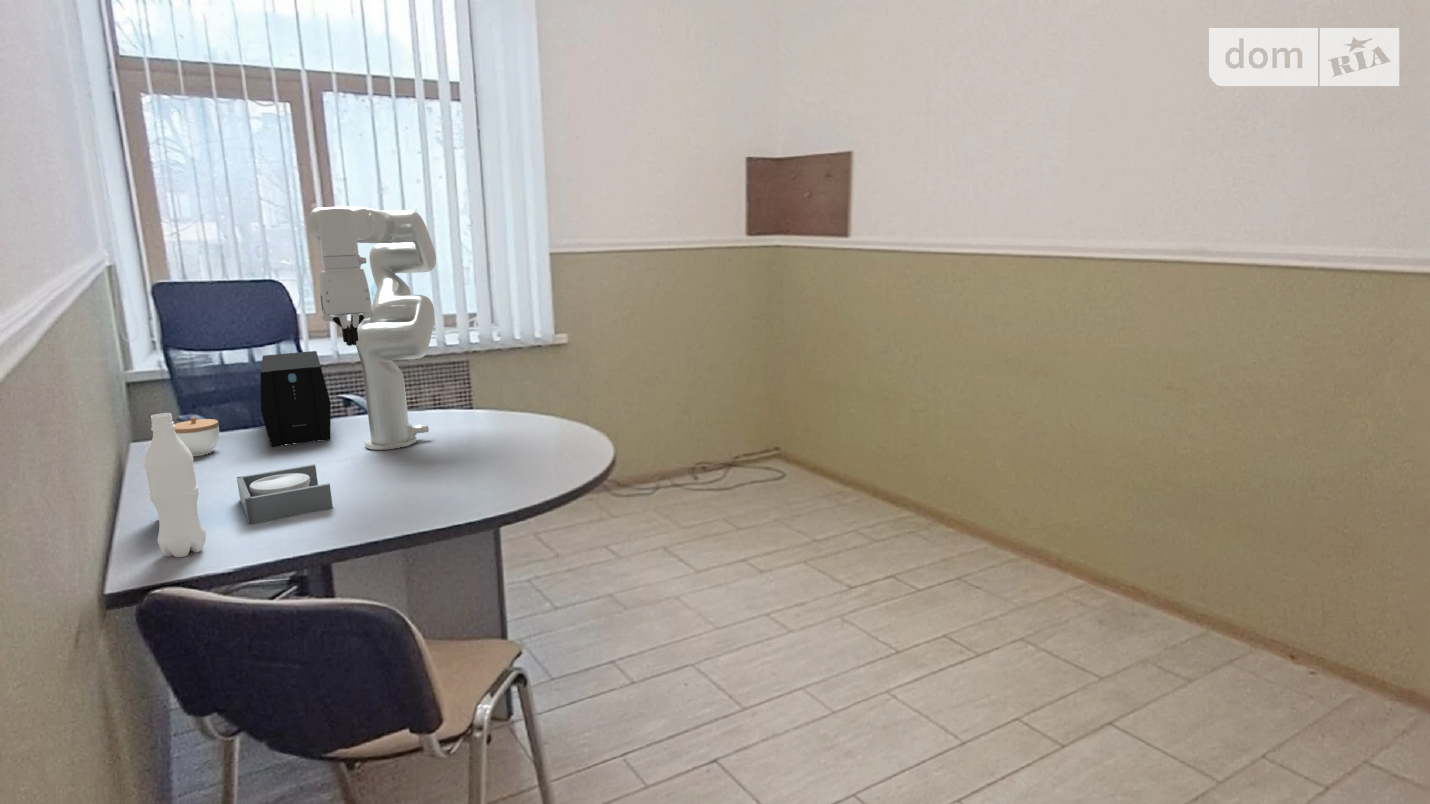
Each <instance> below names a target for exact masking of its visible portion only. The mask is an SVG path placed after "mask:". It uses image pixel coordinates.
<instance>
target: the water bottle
mask: <svg viewBox="0 0 1430 804" xmlns="http://www.w3.org/2000/svg"><path fill="white" fill-rule="evenodd" d="M172 415H173V414H172V413H171V412H163V413H156V414H152V415H151V416H150V419H151V425H150V426H151V427H150V431H152V439H151V442H150V445H149V446H148V448H147V451H146V453H145V457H144V461H143V462H144V463H143V464H144V465H143V466H144V468H145V471H146V476H147V482H148V487H149V500H150V501H151V502H152V504H153V505H154V508H155V509H156V512H157V516H158V521H159V525H158V526H159V529H158V535H157V544H158V547H159V549H160V550H161V552H162V553H163V554H164V555H165V556H166V557H172V556H173V557H175V558H184V557H187V556H188V555H189V552H190V550H191V551H192V552H194V553H195V554H196V553H197V554H198V553H199V552H201V551H202V550H203V549H204V546H205V544H206V539H207V534H206V529H205V528H204V526H203V525H202V523H201V520H200V518H199V513H198V498H199V493H200V492H199V486H198V484H197V478H196V472H195V467H194V465H195V464H194V456H192V454H191V452H190V450H189V449H188V448H187V446H186V445H185V444H184V443H183V442H182V441H181V440H180V438H179V437H178V436H177V434H176V432H175V429H174V428H175V425H174V424H175V422H174V421H173V416H172Z"/></svg>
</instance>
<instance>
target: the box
mask: <svg viewBox="0 0 1430 804" xmlns="http://www.w3.org/2000/svg"><path fill="white" fill-rule="evenodd" d="M292 473H300V474H306V475H308V476H309V477H310V483H309V487H305V488H299V489H294V490H288V491H282V492H277V493H271V494H266V495H260V496H255V497H253V495H252V492H251V491H250V484H251V483H252V482H254V481H256V480H259V479H262V478H265V477H269V476H274V475H281V474H292ZM317 474H318V473H317V467H316V464H308V465H302V466H297V467H295V466H294V467H292V468H290V467H289V468H284V469H279V470H272V471H267V472H260V473H253V474H247V475H241V476H237V477H236V483H237V488H238V495H239V501H240V503H241V506H242V508H243V511H244V514H245V516H246V520H247V522H248V524H249V525H252V524H258V523H262V522H267V521H273V520H279V519H284V518H288V517H289V518H290V517H293V516H298V515H303V514H308V513H314V512H318V511H323V510H329V509H333V508H334V507H333V505H334V504H333V497H332V492H331V491H332V490H331V485H330V482H327V483H323V484H319V481H318V476H317Z"/></svg>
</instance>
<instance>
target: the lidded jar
mask: <svg viewBox="0 0 1430 804" xmlns="http://www.w3.org/2000/svg"><path fill="white" fill-rule="evenodd" d="M173 424H174V425H175V428H174V429H175V432H176V434H177V436H178V437H179V438H180V440H181V441H182V442H183V443H184V444H185V445H186V446H187V448H188V449H189V450H190V452H191V454H192V456H193V457H201V456H206V455H209V454H212V453H213V451H214V449H215V448H216V447H217V446H218V443H219V440H220V427H219V425H220V422H219V421H218V420H217V419H214V418H213V419H211V418H201V419H196V417H195V416H192V417H190V420H185V421H182V422H177V423H176V422H175V423H173ZM208 453H209V454H208ZM205 454H206V455H205Z"/></svg>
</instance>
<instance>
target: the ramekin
mask: <svg viewBox="0 0 1430 804" xmlns="http://www.w3.org/2000/svg"><path fill="white" fill-rule="evenodd" d="M309 483H310V477H309V476H308V475H306V474H300V473H292V474H281V475H274V476H269V477H265V478H262V479H259V480H256V481H254V482H252V483H251V484H250V491H251V492H252V495H253V497H255V496H260V495H266V494H271V493H277V492H282V491H288V490H294V489H299V488H305V487H309Z"/></svg>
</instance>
